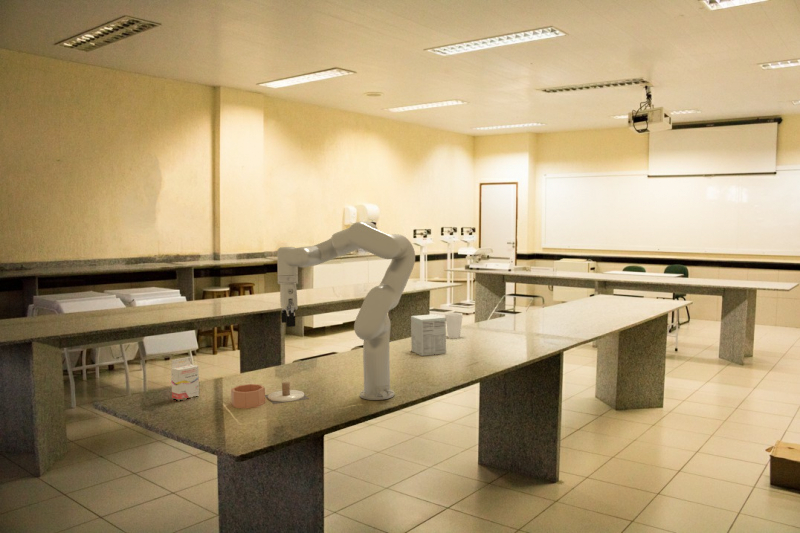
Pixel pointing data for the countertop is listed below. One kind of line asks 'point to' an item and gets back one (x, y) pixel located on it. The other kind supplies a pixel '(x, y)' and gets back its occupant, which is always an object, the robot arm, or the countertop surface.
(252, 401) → the bowl
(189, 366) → the ink cartridge box
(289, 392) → the lid
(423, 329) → the supplement box
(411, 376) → the countertop surface
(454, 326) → the foam cup
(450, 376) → the countertop surface
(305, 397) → the mat
